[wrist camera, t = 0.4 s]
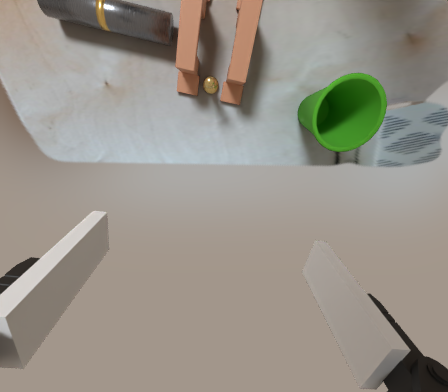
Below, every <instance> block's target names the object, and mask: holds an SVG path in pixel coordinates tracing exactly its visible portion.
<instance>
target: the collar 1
mask: <svg viewBox="0 0 448 392" xmlns="http://www.w3.org/2000/svg"><path fill="white" fill-rule="evenodd" d="M207 2H210V0H181V9H180V21H179V32H178V43H177V54H176V65H175V67H176V68H177V69H179V70H180V71H181V72H180V71H179V74H178V84H177V91H178V92H182V93H187V94H191V95H196V96H197V94H198V87H199V79H200V76H198V75H197V74H198V66H199V59H198V57H197V48H198V40H199V32H200V24H201V18H202V19H205V12H206V4H207Z"/></svg>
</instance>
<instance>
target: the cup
mask: <svg viewBox="0 0 448 392" xmlns="http://www.w3.org/2000/svg"><path fill="white" fill-rule="evenodd" d="M386 107H387V101H386V94H385V91H384V89H383V87H382V85H381V84H380V83H379V82H378V80H377V79H375V78H373V77H372V76H370V75H367V74H363V73H351V74H348V75H345V76H342V77H340V78H339V79H337V80H335V81H334V82H332V83H331V84H330V85H329V86H328V87H326V88H324V89H322V90H320V91H318V92H316V93H314V94H312V95H310V96H308V97H306V98H305V99H304V100H303V101H302V103H301V104H300V106H299V109H298V118H299V121H300V123H301V124H302V125H303V126H304V127H305V128H307V129H308V130H309V131H310V132H311V133H312V134H313V135H314V136H315V137H316V139H317V141H318V142H319V143H320V144H321V145H322V146H323V147H325V148H327V149H328V150H331V151H336V152H345V151H349V150H353V149H356V148H357V147H359V146H361V145H363V144H365V143H366V142H367V141H368V140H370V139H371V138H372V137H373V135H374V134H375V133H376V132H377V131H378V129H379V127H380V126H381V124H382V122H383V119H384V116H385V114H386Z"/></svg>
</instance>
